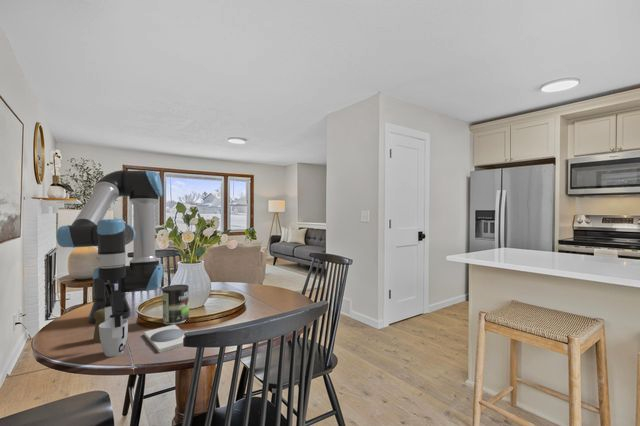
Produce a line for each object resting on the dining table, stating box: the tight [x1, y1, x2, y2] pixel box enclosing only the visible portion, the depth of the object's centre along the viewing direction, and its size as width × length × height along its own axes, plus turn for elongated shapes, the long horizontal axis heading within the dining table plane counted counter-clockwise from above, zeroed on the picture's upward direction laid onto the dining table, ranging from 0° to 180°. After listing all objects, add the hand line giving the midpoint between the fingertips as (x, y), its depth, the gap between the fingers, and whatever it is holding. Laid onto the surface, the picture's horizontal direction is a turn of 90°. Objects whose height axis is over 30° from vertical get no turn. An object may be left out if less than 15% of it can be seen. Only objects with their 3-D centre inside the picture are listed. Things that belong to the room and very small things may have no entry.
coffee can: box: [161, 284, 190, 326], centre depth 135 cm, size 10×10×14 cm
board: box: [143, 324, 186, 353], centre depth 116 cm, size 20×11×2 cm, turn 42°
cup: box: [99, 318, 129, 358], centre depth 105 cm, size 8×8×10 cm
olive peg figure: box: [92, 309, 105, 344], centre depth 116 cm, size 6×6×11 cm
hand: (113, 331), depth 104 cm, fingers open, 13 cm apart
